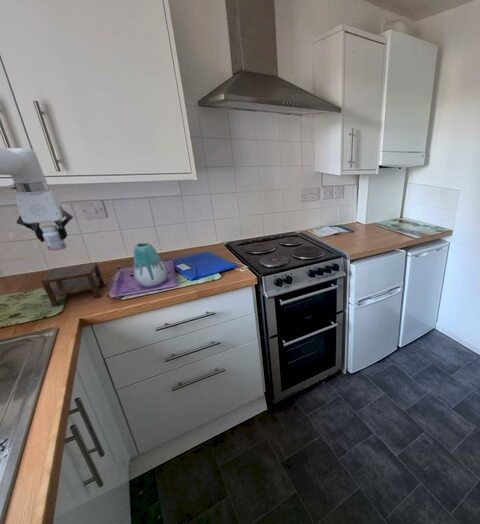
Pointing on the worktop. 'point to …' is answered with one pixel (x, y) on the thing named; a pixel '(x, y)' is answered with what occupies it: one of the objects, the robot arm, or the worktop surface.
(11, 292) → the worktop surface
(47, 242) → the pill bottle
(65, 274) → the shelf
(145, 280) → the vase
